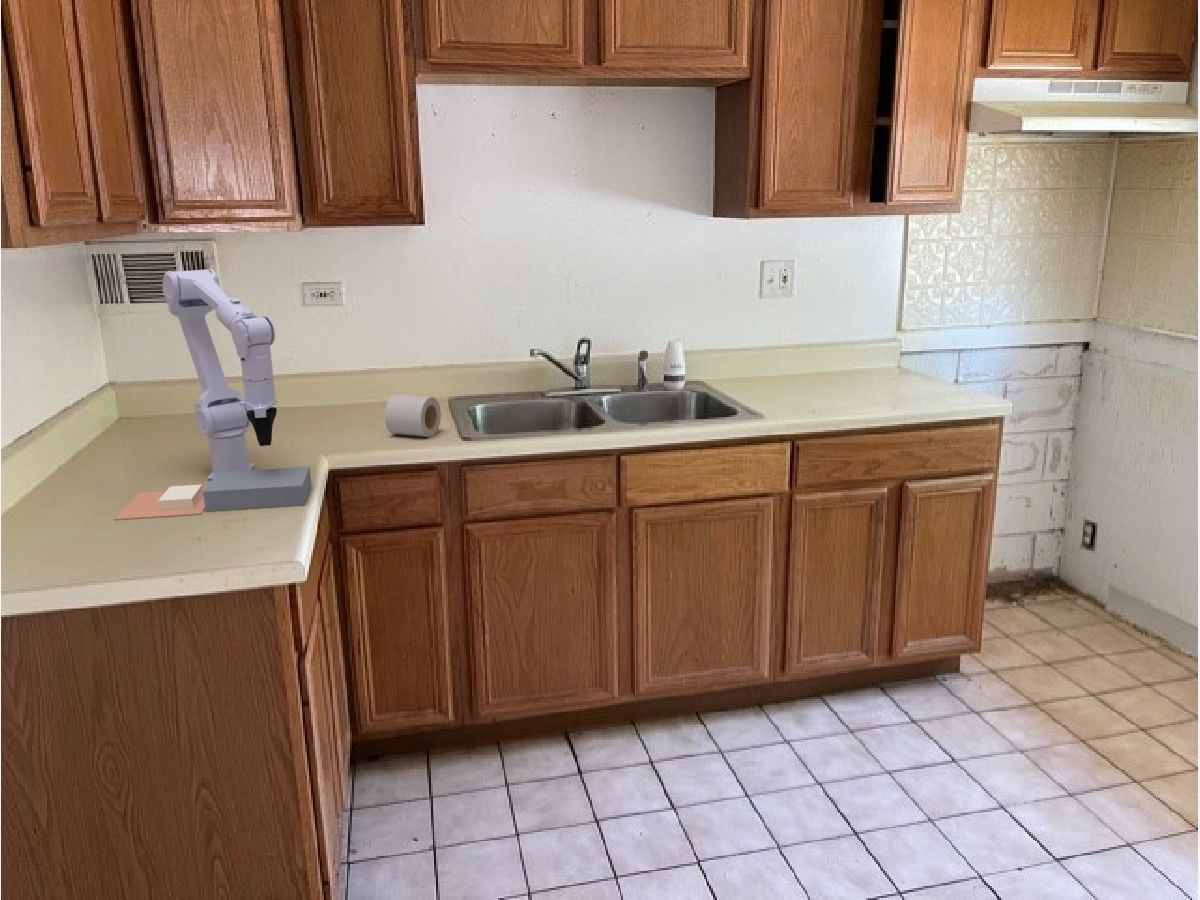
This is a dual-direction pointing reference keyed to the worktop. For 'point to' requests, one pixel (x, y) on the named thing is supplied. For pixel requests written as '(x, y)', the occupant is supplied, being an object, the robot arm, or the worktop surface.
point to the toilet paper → (412, 415)
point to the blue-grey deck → (257, 489)
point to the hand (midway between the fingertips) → (265, 444)
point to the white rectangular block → (180, 497)
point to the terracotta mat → (155, 507)
